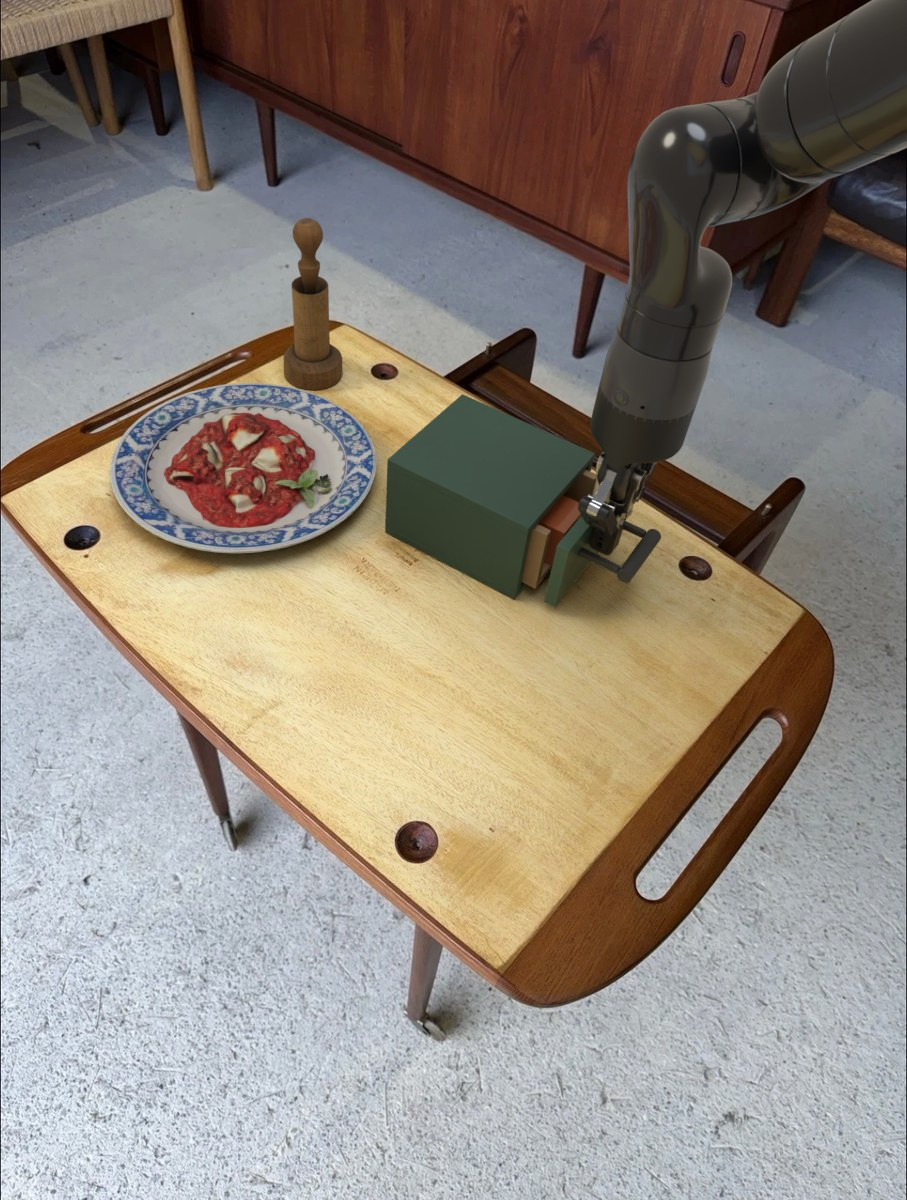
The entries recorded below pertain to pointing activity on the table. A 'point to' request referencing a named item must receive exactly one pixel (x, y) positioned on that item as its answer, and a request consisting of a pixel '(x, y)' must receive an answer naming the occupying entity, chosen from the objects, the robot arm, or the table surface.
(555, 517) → the block
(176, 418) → the ceramic plate
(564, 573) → the drawer
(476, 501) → the cabinet
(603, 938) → the table surface
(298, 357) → the mortar and pestle
